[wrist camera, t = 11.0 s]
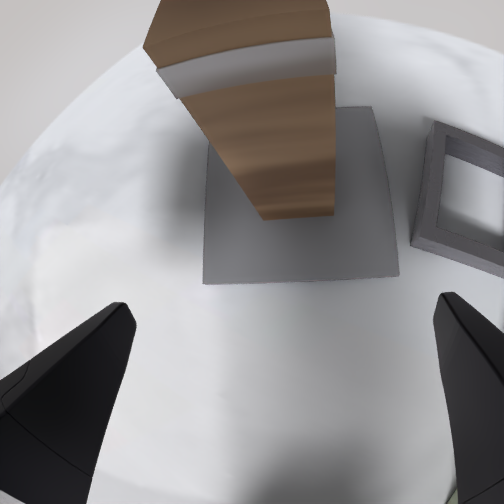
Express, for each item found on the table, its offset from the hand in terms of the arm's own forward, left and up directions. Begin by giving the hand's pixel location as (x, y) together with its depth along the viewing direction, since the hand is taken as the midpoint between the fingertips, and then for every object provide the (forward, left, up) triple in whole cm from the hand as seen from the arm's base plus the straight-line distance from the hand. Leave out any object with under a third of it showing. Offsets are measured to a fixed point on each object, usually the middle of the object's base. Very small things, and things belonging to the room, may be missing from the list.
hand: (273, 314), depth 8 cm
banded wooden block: (+3, +7, -8) cm, 11 cm away
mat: (+3, +7, -9) cm, 12 cm away
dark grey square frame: (+13, +1, -9) cm, 16 cm away
